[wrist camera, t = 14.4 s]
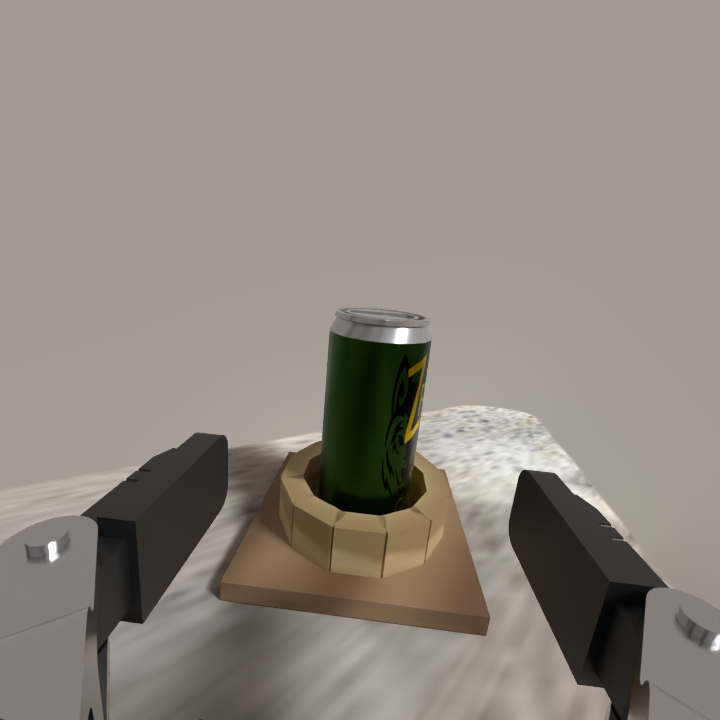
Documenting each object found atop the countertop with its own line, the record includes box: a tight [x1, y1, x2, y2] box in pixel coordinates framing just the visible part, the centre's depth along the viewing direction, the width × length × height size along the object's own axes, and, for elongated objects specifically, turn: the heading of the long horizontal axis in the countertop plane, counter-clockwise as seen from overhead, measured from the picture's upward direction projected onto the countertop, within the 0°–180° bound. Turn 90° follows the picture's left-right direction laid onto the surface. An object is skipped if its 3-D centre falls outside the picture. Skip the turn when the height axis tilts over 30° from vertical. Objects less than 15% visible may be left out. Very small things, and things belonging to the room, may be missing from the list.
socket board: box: [220, 441, 490, 635], centre depth 21 cm, size 12×12×4 cm
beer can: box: [318, 307, 432, 516], centre depth 20 cm, size 5×5×12 cm
